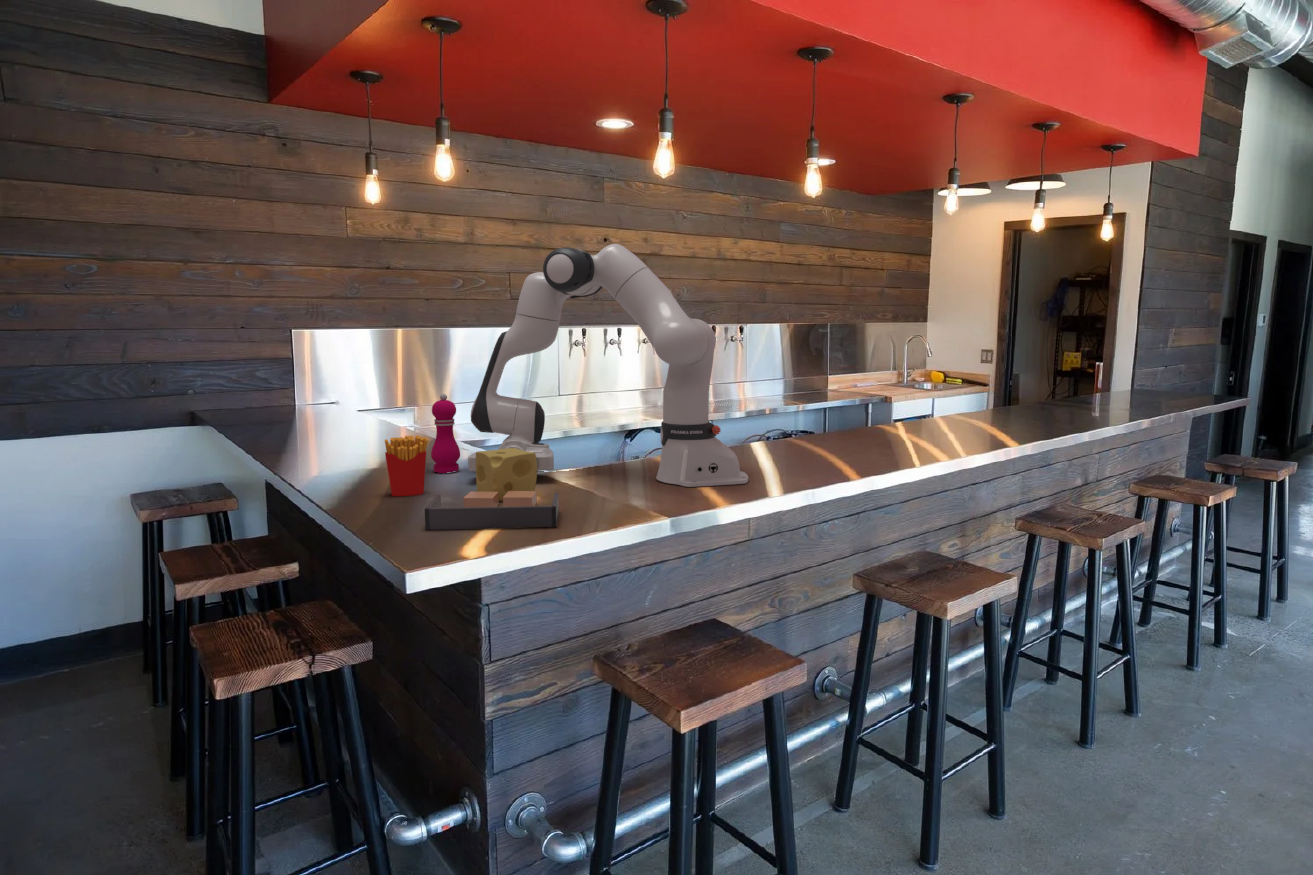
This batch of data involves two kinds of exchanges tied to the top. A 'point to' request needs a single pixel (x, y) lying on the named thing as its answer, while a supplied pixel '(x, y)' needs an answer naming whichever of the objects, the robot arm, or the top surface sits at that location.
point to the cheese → (505, 471)
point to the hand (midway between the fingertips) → (508, 467)
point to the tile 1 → (481, 499)
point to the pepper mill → (444, 437)
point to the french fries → (406, 465)
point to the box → (489, 516)
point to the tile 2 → (520, 498)
